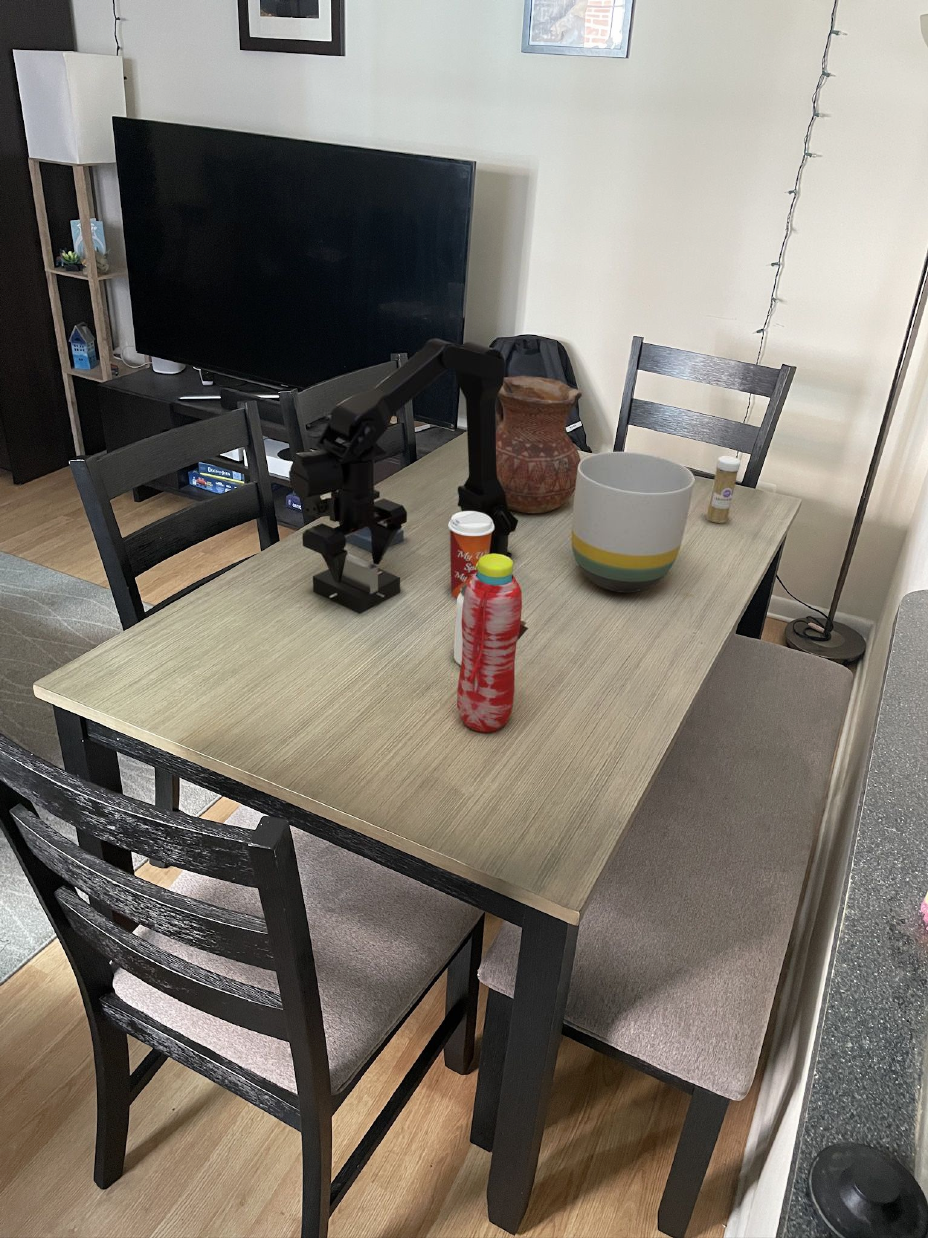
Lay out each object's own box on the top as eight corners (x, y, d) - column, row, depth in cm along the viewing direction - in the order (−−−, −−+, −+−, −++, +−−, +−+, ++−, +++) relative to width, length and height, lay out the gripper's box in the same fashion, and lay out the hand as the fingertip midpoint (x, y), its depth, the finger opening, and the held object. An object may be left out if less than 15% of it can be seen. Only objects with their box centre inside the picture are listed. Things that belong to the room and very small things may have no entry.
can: (491, 674, 133) (497, 604, 127) (449, 667, 134) (453, 597, 128) (499, 651, 139) (504, 583, 133) (458, 645, 140) (462, 577, 134)
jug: (594, 499, 194) (609, 385, 182) (549, 531, 179) (562, 409, 166) (506, 475, 204) (514, 366, 191) (456, 503, 188) (462, 386, 176)
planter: (545, 567, 165) (557, 457, 154) (634, 553, 172) (652, 447, 161) (599, 617, 149) (617, 499, 139) (695, 600, 157) (718, 486, 146)
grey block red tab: (378, 590, 148) (378, 564, 145) (370, 594, 146) (370, 568, 144) (343, 574, 152) (343, 549, 149) (336, 578, 150) (335, 553, 148)
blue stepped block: (407, 538, 172) (407, 519, 170) (374, 553, 166) (374, 534, 164) (367, 522, 178) (367, 504, 176) (334, 536, 172) (334, 517, 170)
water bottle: (480, 685, 130) (491, 529, 118) (530, 701, 128) (547, 543, 115) (441, 728, 121) (449, 564, 108) (494, 747, 118) (509, 581, 106)
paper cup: (457, 607, 150) (461, 531, 143) (437, 587, 156) (440, 513, 149) (498, 598, 153) (504, 524, 146) (476, 579, 159) (481, 506, 152)
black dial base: (411, 597, 152) (411, 581, 151) (357, 626, 143) (357, 609, 142) (354, 572, 159) (354, 556, 158) (299, 598, 150) (298, 581, 149)
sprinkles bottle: (714, 525, 185) (727, 463, 179) (701, 516, 189) (713, 456, 182) (732, 522, 187) (745, 461, 180) (718, 514, 191) (731, 454, 184)
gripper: (360, 457, 151) (361, 540, 159) (275, 486, 138) (281, 576, 146) (409, 474, 145) (408, 560, 153) (326, 507, 132) (329, 599, 140)
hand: (357, 572), depth 148 cm, fingers open, 9 cm apart
